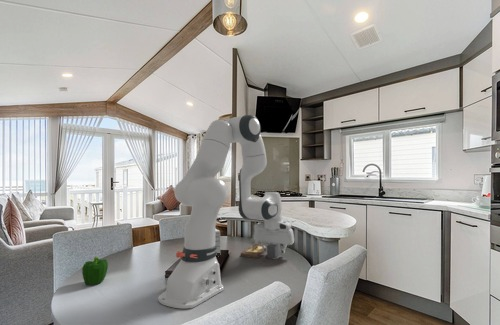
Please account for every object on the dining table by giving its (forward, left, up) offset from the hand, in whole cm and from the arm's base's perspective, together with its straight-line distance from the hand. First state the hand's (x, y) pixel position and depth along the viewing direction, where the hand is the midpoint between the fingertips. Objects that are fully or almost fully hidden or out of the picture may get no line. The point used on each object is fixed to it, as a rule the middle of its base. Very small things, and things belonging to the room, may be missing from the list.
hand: (274, 252), depth 119 cm
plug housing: (0, 0, -2) cm, 2 cm away
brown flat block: (+2, +11, -2) cm, 11 cm away
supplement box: (-10, +30, -2) cm, 32 cm away
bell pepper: (-54, +54, -2) cm, 76 cm away
